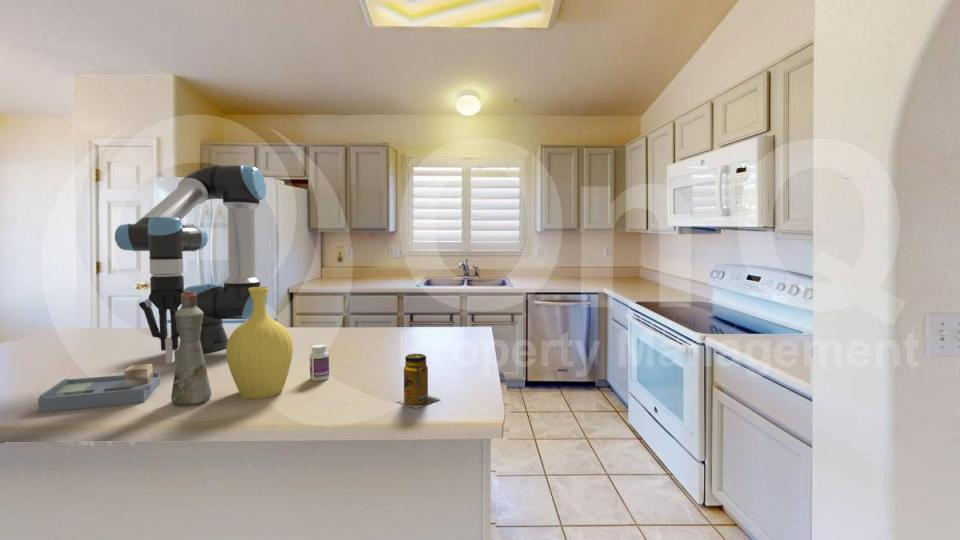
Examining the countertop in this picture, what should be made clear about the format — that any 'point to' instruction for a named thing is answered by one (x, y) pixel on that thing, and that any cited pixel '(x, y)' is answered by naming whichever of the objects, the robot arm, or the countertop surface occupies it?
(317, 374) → the pill bottle
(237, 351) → the vase
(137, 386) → the blue gray tray
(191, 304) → the bottle
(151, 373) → the block
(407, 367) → the condiment
